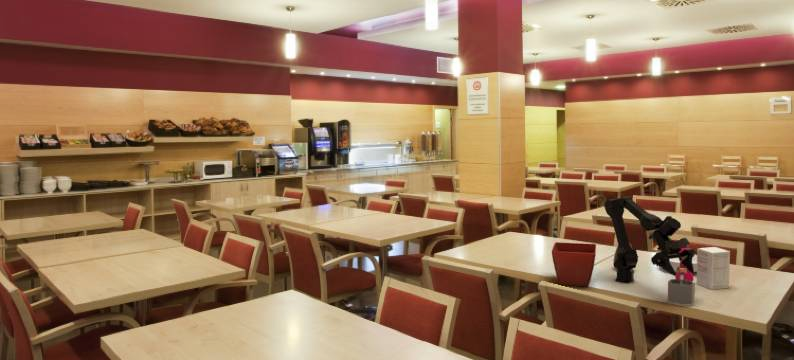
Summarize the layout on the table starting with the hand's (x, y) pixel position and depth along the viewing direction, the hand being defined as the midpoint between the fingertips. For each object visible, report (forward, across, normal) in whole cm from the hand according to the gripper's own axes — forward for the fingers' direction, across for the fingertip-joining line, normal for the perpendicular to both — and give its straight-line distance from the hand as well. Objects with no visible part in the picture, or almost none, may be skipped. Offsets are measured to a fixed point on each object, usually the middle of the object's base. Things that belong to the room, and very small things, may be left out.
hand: (684, 274), depth 217 cm
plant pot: (-20, -23, +38) cm, 49 cm away
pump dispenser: (-26, +12, +44) cm, 52 cm away
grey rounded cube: (+8, 0, +10) cm, 12 cm away
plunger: (+3, 0, +5) cm, 6 cm away
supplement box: (-1, +30, +18) cm, 35 cm away
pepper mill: (-3, +17, +20) cm, 27 cm away
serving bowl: (-18, +37, +36) cm, 54 cm away
